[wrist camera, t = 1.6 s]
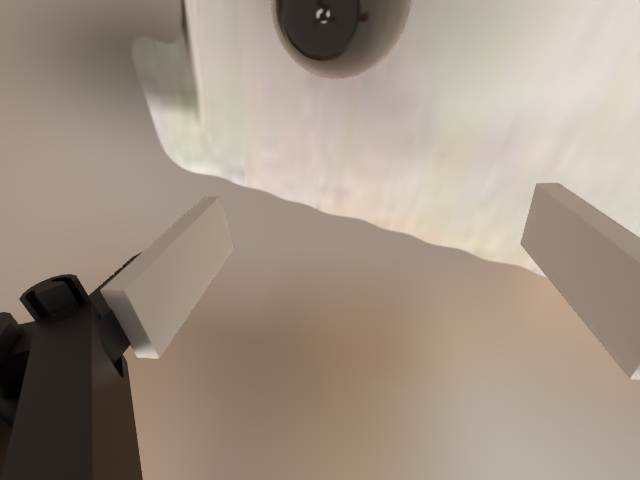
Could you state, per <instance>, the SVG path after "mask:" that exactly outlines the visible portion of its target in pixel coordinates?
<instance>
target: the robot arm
mask: <svg viewBox="0 0 640 480" xmlns="http://www.w3.org/2000/svg"><path fill="white" fill-rule="evenodd" d="M521 245H522V246H523V248H524V249H525V250H526V251H527V253H528V254H529V255H530V256H531V258H532V259H533V260H534V261H535V263H536V264H537V265H538V266H539V267H540V269H541V270H542V271H543V272H544V274H545V275H546V276H547V277H548V279H549V280H550V281H551V282H552V283H553V285H554V286H555V287H556V288H557V290H558V291H559V292H560V293H561V295H562V296H563V297H564V298H565V299H566V301H567V302H568V303H569V305H570V306H571V307H572V308H573V309H574V311H575V312H576V313H577V314H578V316H579V317H580V318H581V319H582V320H583V322H584V323H585V324H586V325H587V327H588V328H589V329H590V330H591V332H592V333H593V334H594V335H595V337H596V338H597V339H598V340H599V341H600V342H601V344H602V345H603V346H604V348H605V349H606V350H607V351H608V352H609V354H610V355H611V356H612V358H613V359H614V360H615V361H616V362H617V364H618V365H619V366H620V367H621V369H622V370H623V371H624V372H625V374H626V375H627V376H628V377H629V379H637V380H640V238H639V237H638V236H636V235H635V234H633V233H632V232H630V231H629V230H627V229H626V228H625V227H623V226H622V225H620V224H619V223H617V222H616V221H614V220H613V219H611V218H610V217H608V216H607V215H605V214H604V213H602V212H601V211H599V210H598V209H596V208H595V207H593V206H592V205H590V204H589V203H588V202H586V201H585V200H583V199H582V198H580V197H579V196H577V195H576V194H574V193H573V192H571V191H570V190H568V189H567V188H565V187H564V186H562V185H561V184H559V183H536V187H535V191H534V195H533V198H532V202H531V206H530V210H529V214H528V217H527V221H526V225H525V229H524V233H523V236H522V240H521ZM233 248H234V247H233V243H232V240H231V237H230V232H229V229H228V225H227V221H226V217H225V214H224V210H223V206H222V203H221V199H220V196H214V197H203V198H202V199H201V200H200V201H199V202H198V203H197V204H196V205H194V206H193V207H192V208H191V209H190V210H189V211H188V212H187V213H186V214H184V215H183V216H182V217H181V218H180V219H179V220H178V221H177V222H175V223H174V224H173V225H172V226H171V227H170V228H169V229H168V230H167V231H165V232H164V233H163V234H162V235H161V236H160V237H159V238H158V239H157V240H155V241H154V242H153V243H152V244H151V245H150V246H149V247H148V248H146V249H145V250H144V251H143V252H141V253H139V254H138V255H136V256H134V257H132V258H131V259H130V260H129V261H128V262H127V263H125V264H124V265H123V266H122V268H120V269H119V270H117V271H116V272H115V273H114V275H112V276H111V277H109V279H107V280H106V281H105V282H104V283H103V284H102V285H100V286H99V287H98V288H97V289H96V290H95V291H94V292H92V293H91V294H90V295H89V296H88V295H87V293H86V291H85V290H84V288H83V286H82V285H81V283H80V281H79V279H78V278H77V276H75V275H71V274H68V275H60V276H56V277H52V278H49V279H47V280H44V281H42V282H40V283H38V284H36V285H34V286H33V287H31V288H30V289H28V290H27V291H26V292H25V293H23V295H22V296H21V297H20V301H21V302H22V303H23V305H24V306H25V307H26V309H27V310H28V312H29V313H30V314H31V316H32V317H33V318H34V320H35V321H33V322H29V323H24V324H18V323H17V322H16V320H15V319H14V318H13V316H12V315H11V314H10V313H6V312H2V313H0V480H143V479H142V471H141V464H140V456H139V448H138V441H137V433H136V427H135V419H134V412H133V403H132V396H131V388H130V381H129V373H128V365H127V361H126V359H125V357H124V356H123V353H124V352H125V350H126V349H127V348H128V347H129V345H131V347H132V348H133V350H134V352H135V354H136V356H137V357H138V358H160V357H161V355H162V354H163V352H164V351H165V349H166V348H167V346H168V345H169V343H170V342H171V340H172V339H173V337H174V336H175V334H176V333H177V332H178V330H179V328H180V327H181V326H182V324H183V322H184V321H185V320H186V318H187V317H188V315H189V313H190V312H191V311H192V309H193V307H194V306H195V305H196V303H197V302H198V300H199V299H200V297H201V296H202V294H203V293H204V291H205V290H206V288H207V287H208V285H209V284H210V282H211V281H212V279H213V278H214V276H215V275H216V273H217V272H218V270H219V269H220V268H221V266H222V265H223V263H224V261H225V260H226V259H227V257H228V256H229V254H230V253H231V251H232V250H233Z"/></svg>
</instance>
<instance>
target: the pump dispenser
mask: <svg viewBox="0 0 640 480" xmlns="http://www.w3.org/2000/svg"><path fill="white" fill-rule="evenodd" d="M410 4H411V0H271V9H272V17H273V22H274V26H275V30H276V33H277V35H278V38H279V40H280V42H281V44H282V45H283V47H284V49H285V50H286V52H287V53H288V54H289V55H290V57H291V58H292V59H293V60H294V61H295V62H296V63H297V64H298V65H300V66H301V67H302V68H304V69H305V70H307V71H308V72H310V73H312V74H315V75H317V76H320V77H324V78H330V79H343V78H349V77H353V76H356V75H359V74H361V73H363V72H365V71H367V70H369V69H370V68H372V67H374V66H375V65H376V64H378V63H379V62H380V61H381V60H382V59H384V58H385V57H386V56H387V54H388V53H389V52H390V51H391V50H392V48H393V47H394V46H395V44H396V43H397V41H398V39H399V37H400V36H401V34H402V31H403V29H404V27H405V24H406V21H407V18H408V14H409V10H410Z"/></svg>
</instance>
